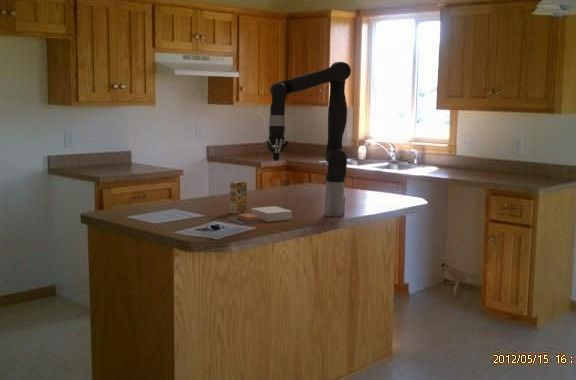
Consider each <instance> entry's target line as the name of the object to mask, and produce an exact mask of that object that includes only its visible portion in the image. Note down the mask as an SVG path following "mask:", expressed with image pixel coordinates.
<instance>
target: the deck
mask: <svg viewBox="0 0 576 380" xmlns="http://www.w3.org/2000/svg"><path fill="white" fill-rule="evenodd" d="M292 213H293V211H292V210H289V209H286V208H283V207H279V206H276V205H273V206H263V207H251V211H250V214H252V215H255V216H258V219H261V220H264V221H266V222H267V223H268V222H277V221H288V220H292V219H293V214H292ZM266 222H265V223H266Z"/></svg>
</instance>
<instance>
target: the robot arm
mask: <svg viewBox="0 0 576 380" xmlns="http://www.w3.org/2000/svg"><path fill="white" fill-rule="evenodd" d="M351 73H352V69H351V66H350V65H349V64H348V62H345V61H335V62H333V63H332V64H331V66H330V67H326V68H325V69H322V70H320V71H319V70H318V71H314V72H310V73H309V72H308V73H306V74H305V73H304V74H302V75H298V76H295V77H293V78H290V79H286V80H282V81H281V80H280V81H278V82H277V81H276V82H275V83H273V84H272V85H271V86H270V89H269V92H270V94H271V104H270V110H269V111H270V112H269V113H270V114H269V121H268V123H269V127H268V133H269V136H268V139H267V140H266V141H264V144H265V146H266V148H267V149H268V151H269V152H271V153H272V160H273V161H276V162H277V161H279V160H280V153H281V152H284V150H285V149H286V147H287V145H288V144H289V141H288V140H286V138H285V134H286V133H285V132H286V117H285V116H286V99H287V95H289V94H294V93H298V92H299V93H300V92H302V91H305V90H308V89H312V88H314V87H317V86H320V85H323V84H326V83H329V98H328V109H327V111H328V112H327V113H328V114H327V143H326V144H327V145H326V152H325V161H326V163H327V165H328V166H327V173H326V175H325V191H324V193H325V194H324V210H323V211H324V213H323V214H324V216H327V217H330V216H333V218H339V217H338V216H340V217H343V216H345V211H346V209H345V206H346V196H345V195H344V194H345V180H346V176H347V166H348V165H347V164H348V156H347V154H346V152H345V151H344V150H343V137H344V133H345V129H346V125H347V120H348V104H347V98H346V93H345V92H346V91H345V89H346V80H347V79H348V78H349V77H350V76H351ZM342 215H343V216H342Z"/></svg>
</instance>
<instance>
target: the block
mask: <svg viewBox="0 0 576 380" xmlns="http://www.w3.org/2000/svg"><path fill="white" fill-rule="evenodd" d="M236 215H237V216H236V217H237V219H240V220H243V221H246V222H251V221H258V216H255V215H252V214H251V213H249V212H248V213H247V212H244V213H236Z"/></svg>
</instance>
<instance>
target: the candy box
mask: <svg viewBox="0 0 576 380" xmlns="http://www.w3.org/2000/svg"><path fill="white" fill-rule="evenodd" d="M229 191H230V192H229V193H230V194H229V213H230V214H235V215H237V214H242V213H247V209H248V206H247V205H248V181H246V180H245V181H244V180H238V181H237V180H236V181H232V182H230V189H229Z"/></svg>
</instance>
